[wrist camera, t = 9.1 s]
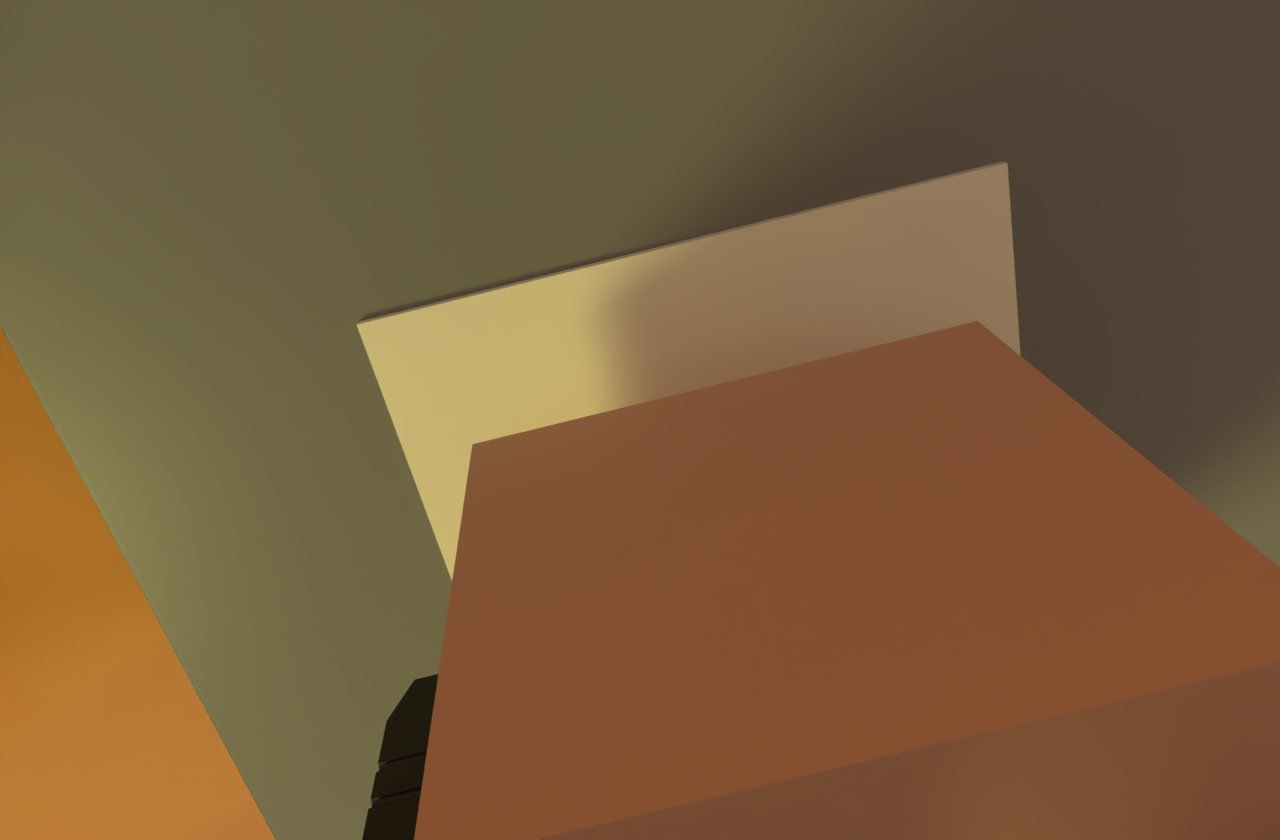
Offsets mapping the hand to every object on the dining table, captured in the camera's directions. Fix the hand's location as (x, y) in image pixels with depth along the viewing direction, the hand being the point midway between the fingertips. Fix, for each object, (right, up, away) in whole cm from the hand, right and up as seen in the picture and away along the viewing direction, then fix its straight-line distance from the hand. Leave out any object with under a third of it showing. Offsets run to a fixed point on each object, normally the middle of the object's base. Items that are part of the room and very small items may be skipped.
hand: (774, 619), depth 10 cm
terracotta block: (0, 0, +1) cm, 1 cm away
